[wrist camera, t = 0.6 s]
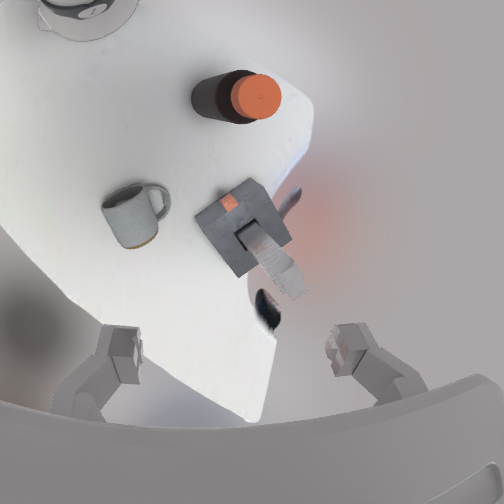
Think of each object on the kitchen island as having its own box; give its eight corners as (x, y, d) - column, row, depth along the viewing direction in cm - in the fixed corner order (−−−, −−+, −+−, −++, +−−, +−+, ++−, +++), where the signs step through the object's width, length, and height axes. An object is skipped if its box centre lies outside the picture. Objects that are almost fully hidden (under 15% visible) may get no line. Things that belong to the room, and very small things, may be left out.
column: (223, 217, 55) (273, 279, 37) (240, 205, 55) (298, 261, 38) (237, 237, 58) (289, 303, 40) (253, 226, 58) (311, 287, 41)
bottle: (203, 125, 46) (246, 139, 30) (183, 91, 42) (216, 82, 26) (238, 105, 46) (299, 110, 30) (219, 71, 42) (273, 55, 26)
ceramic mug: (121, 238, 49) (122, 259, 43) (101, 198, 45) (98, 213, 39) (176, 214, 51) (184, 231, 45) (159, 171, 47) (165, 182, 41)
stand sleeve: (189, 210, 52) (196, 223, 47) (245, 170, 52) (259, 179, 47) (228, 262, 60) (238, 278, 55) (278, 226, 60) (292, 239, 55)
